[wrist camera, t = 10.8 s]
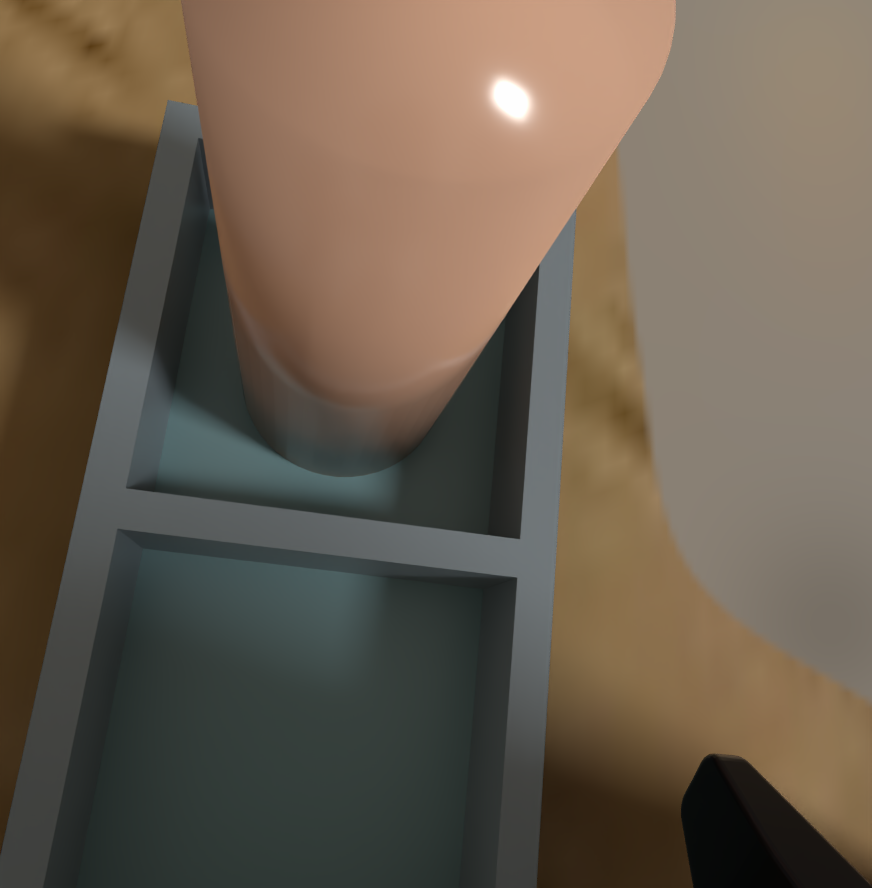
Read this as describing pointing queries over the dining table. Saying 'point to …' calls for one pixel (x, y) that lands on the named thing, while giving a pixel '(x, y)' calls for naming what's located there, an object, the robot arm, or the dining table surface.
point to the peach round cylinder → (397, 190)
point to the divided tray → (294, 612)
